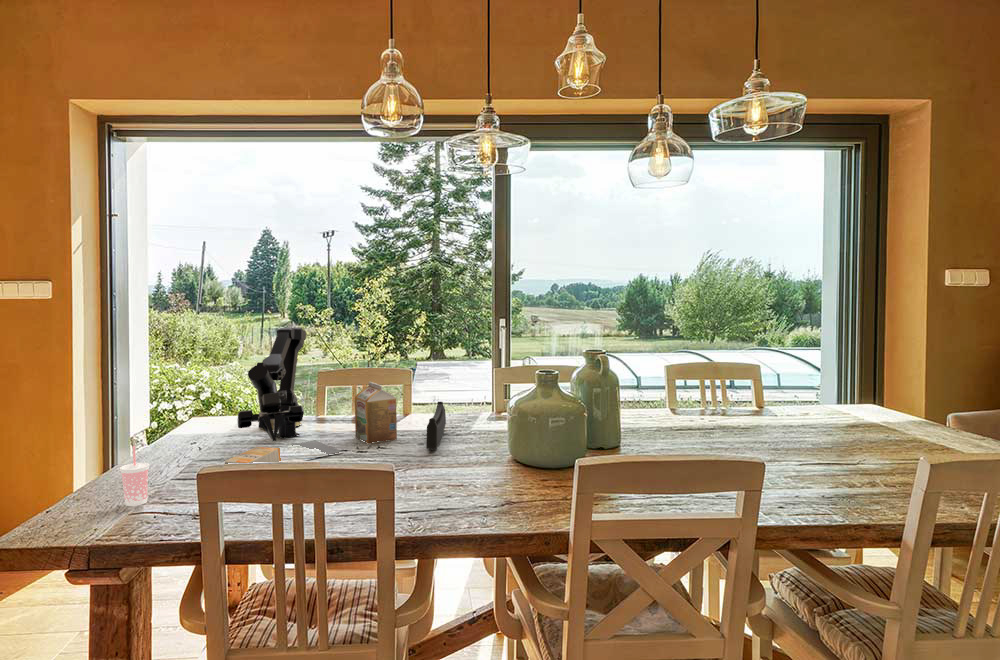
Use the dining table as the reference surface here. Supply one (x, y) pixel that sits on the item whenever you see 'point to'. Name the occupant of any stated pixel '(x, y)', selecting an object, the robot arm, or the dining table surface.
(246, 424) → the robot arm
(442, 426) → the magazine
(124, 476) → the beverage cup
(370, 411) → the milk carton
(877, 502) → the dining table surface
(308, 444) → the rubber mat
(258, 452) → the supplement box
